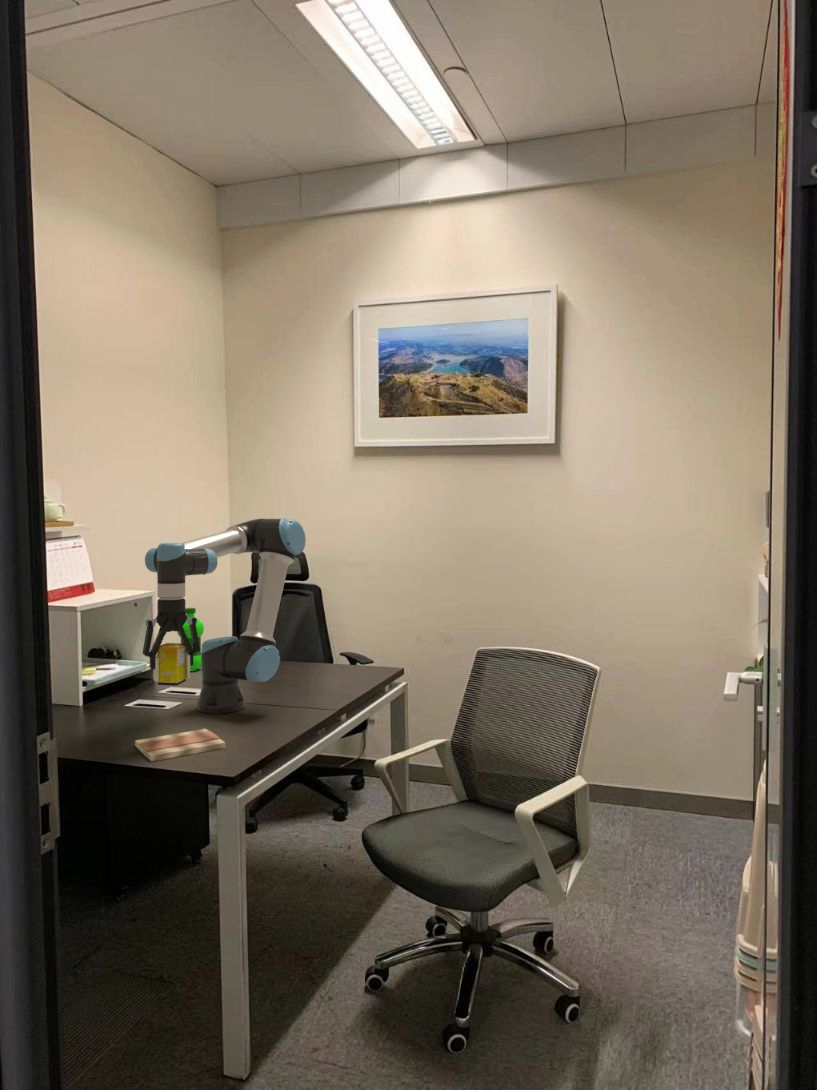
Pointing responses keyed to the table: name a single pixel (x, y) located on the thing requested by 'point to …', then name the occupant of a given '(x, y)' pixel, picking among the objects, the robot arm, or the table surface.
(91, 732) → the table surface
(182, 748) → the board
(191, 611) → the plastic bottle
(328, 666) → the table surface
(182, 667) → the supplement box
